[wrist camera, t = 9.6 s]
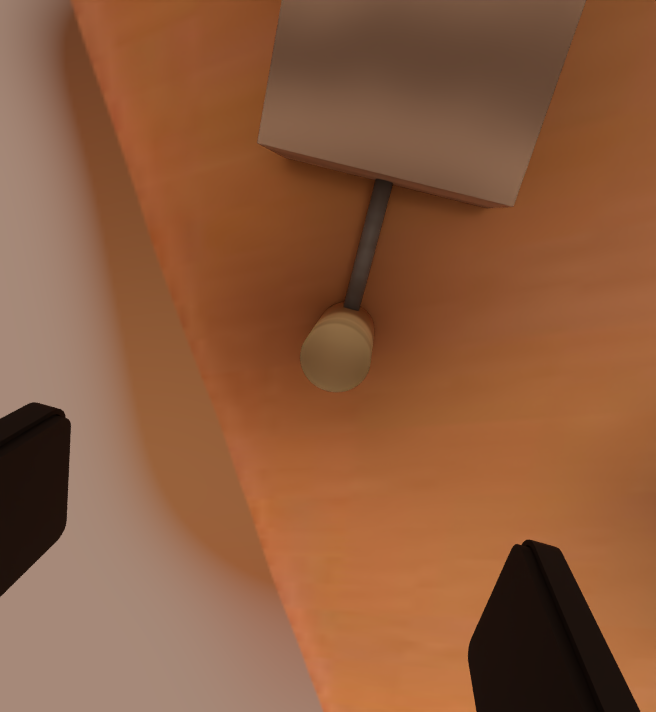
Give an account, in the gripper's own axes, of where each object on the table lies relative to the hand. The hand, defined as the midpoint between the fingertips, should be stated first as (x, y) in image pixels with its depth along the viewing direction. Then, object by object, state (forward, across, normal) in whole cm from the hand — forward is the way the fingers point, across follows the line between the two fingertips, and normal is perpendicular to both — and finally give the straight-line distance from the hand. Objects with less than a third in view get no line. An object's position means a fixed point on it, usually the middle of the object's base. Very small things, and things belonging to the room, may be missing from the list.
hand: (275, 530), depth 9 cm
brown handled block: (+16, 0, -8) cm, 18 cm away
